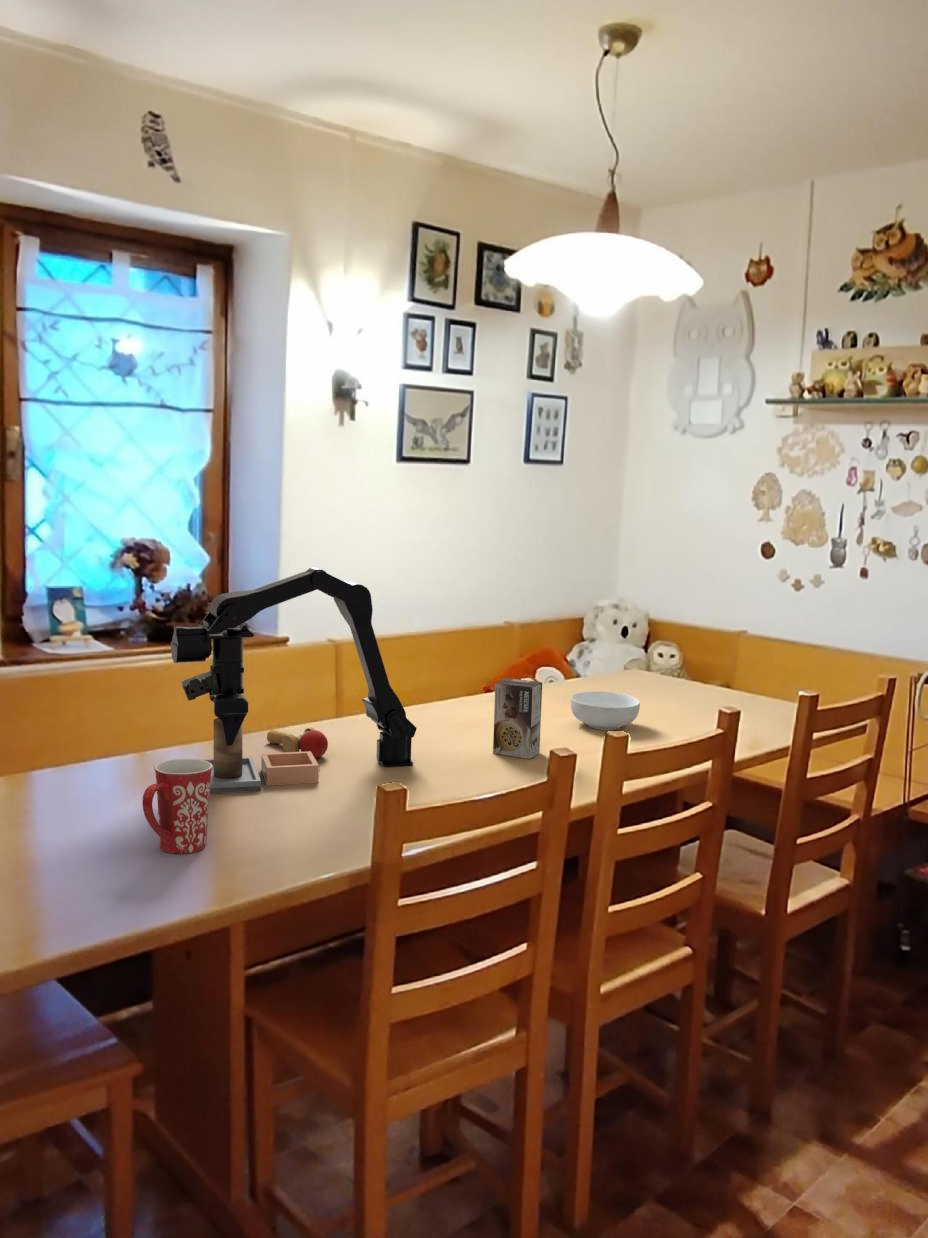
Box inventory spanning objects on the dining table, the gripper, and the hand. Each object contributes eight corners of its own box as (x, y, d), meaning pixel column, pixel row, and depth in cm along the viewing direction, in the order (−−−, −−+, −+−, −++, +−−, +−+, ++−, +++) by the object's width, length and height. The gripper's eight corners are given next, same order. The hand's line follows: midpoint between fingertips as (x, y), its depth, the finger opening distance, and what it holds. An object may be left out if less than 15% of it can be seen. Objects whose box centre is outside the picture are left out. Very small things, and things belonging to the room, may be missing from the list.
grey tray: (252, 766, 211) (252, 757, 211) (260, 790, 196) (260, 780, 196) (196, 769, 208) (196, 759, 208) (201, 794, 193) (201, 784, 193)
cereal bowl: (560, 729, 251) (562, 701, 250) (579, 715, 266) (581, 688, 265) (629, 738, 245) (631, 709, 244) (644, 723, 260) (646, 695, 259)
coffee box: (540, 752, 230) (544, 681, 227) (529, 759, 224) (533, 687, 221) (502, 746, 233) (505, 676, 231) (491, 753, 228) (494, 681, 225)
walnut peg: (241, 769, 206) (241, 716, 204) (243, 778, 200) (243, 723, 199) (212, 771, 204) (212, 717, 202) (214, 779, 199) (214, 724, 197)
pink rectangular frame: (310, 767, 212) (310, 751, 212) (318, 782, 203) (318, 765, 202) (261, 770, 209) (261, 753, 209) (266, 785, 200) (267, 768, 199)
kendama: (255, 752, 226) (306, 759, 214) (257, 723, 227) (308, 729, 214) (284, 753, 232) (335, 759, 220) (286, 724, 233) (337, 729, 220)
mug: (184, 832, 174) (184, 754, 172) (224, 844, 169) (224, 764, 167) (124, 854, 163) (123, 772, 161) (164, 868, 158) (164, 783, 156)
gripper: (182, 652, 205) (182, 728, 207) (186, 671, 187) (186, 754, 190) (239, 651, 208) (239, 726, 211) (248, 669, 191) (248, 751, 193)
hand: (227, 739), depth 201 cm, fingers open, 9 cm apart
